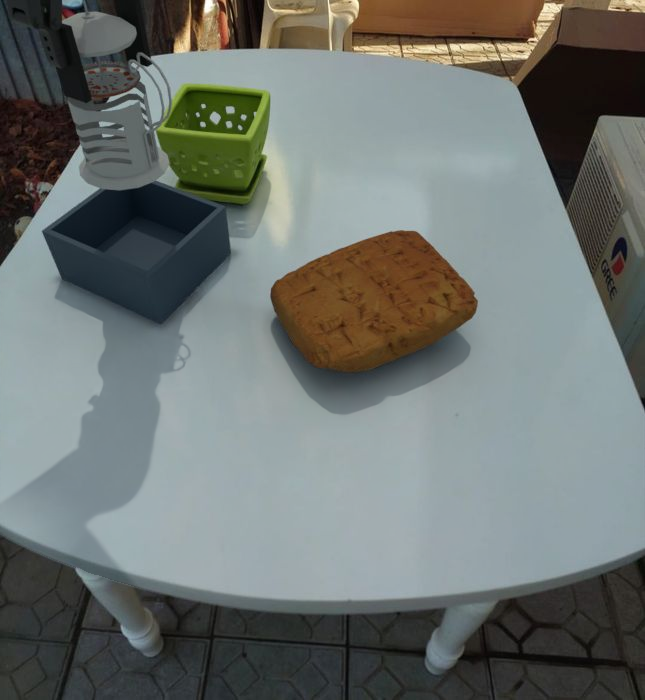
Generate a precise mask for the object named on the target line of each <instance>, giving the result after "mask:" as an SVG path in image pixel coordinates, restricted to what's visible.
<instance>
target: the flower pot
mask: <svg viewBox="0 0 645 700" xmlns="http://www.w3.org/2000/svg"><path fill="white" fill-rule="evenodd" d="M171 99H172V106H171V111H170V114H169V117H168V118H167V119H166V120H165V121H164V122H163V123H162V125H161V126H160V127H159V128H158V129H157V130H156V131H155V134H156V137H157V141H158V143H159V146H160V147H159V148H160V149H161V150H163V151H164V152H165V153H166V154H167V155H168V159H169V163H170V164H169V166H168V167H170V169H171V171H172V172H173V173H174V174H175V176H176V177H177V178H178V179H177V181H176V184H175V186H174V187H175V188H177V189H180V190H183V191H185V192H188V193H191V194H193V195H196V196H199V197H201V198H204V199H207V200H209V201H212V202H223V203H232V204H237V205H238V206H244V205H246V204H248V203H249V202H250V201H251V200H252V198H253V195H254V193H255V191H256V188H257V186H258V183H259V182H260V179H261V176H262V173H263V172H264V168H265V165H266V162H267V159H268V155H267V154H262V153H263V151H264V147H265V144H266V140H267V136H268V130H269V125H270V124H269V123H270V116H271V115H270V114H271V93H270V91H268V90H265V89H259V88H252V87H251V88H250V87H243V86H232V85H221V84H211V83H186V82H185V83H183V84H182V85H181V86H180V87H179V88H178V90H177V91H176V93H175V94H174V95H173V98H171ZM202 105H205V107H202ZM227 107H228V108H229V107H232V108H233V109H234V110H233V111H234V112H227ZM168 109H169V104H168V105H167V107H166V109H165V110H164V117H165V116H166V115H167V112H168ZM214 112H215V113H216V114H217V115H219V117H220V118H219V120H218V122H217V123H215V122H214V121H213V120H212V119H211V115H213V113H214ZM197 113H198V115H199V116H198V115H197ZM242 115H243V116H246V117H245V119H243V118H242ZM227 122H230V123H231V126H230V127H228V125H227ZM201 123H204V124H205V126H202V125H201ZM239 126H240V127H241V129H240V128H239Z"/></svg>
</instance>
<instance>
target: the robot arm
mask: <svg viewBox="0 0 645 700" xmlns="http://www.w3.org/2000/svg"><path fill="white" fill-rule="evenodd" d="M6 5H7V10H8V16H9V18H10V20H11V22H13V23H14V24H17V25H21V26H24V27H26V28H27V27H28V28H31V29H34V30H36V31H37V33H38V36H39V39H40V42H41V45H42V46H41V47H42V49H43V52H44V55H45V59H46V61H47V62H48V63H49V65H50V66H52V67H55V70H56V73H57V77H58V79H59V83H60V86H61V89H62V92H63V95H64V97H66V98H67V97H70V98H73V99H75V100H78V101H81V102H84V103H88V102H89V101H91V100H92V98H91V95H90V91H89V87H88V84H87V80H86V77H85V73H84V69H83V66H84V65H83V63H82V59H81V57H80V55H79V52H78V48H77V44H76V41H75V37H74V34H73V30H72V26H70V25H66V24H63V23H62V21H63V0H6ZM113 5H114V9H115V14H116V17H120V18H122V19H124V20H125V21H127V22H128V23H130V24H131V25H133V26H134V27H135V28H136V32H137V34H136V38H135V40H134V41H133V43H132V44H131V45H130V46H129V47H127V48H125V49H123V50H124V51H123V52H124V55H125V59H126V61H127V62H129V60H135V61H137V57H136V55H137V54H138V52H139V53H143V54H145V55H146V56H148V57H149V58H151V59H152V56H151V49H150V44H149V40H148V34H147V29H146V25H147V22H148V17H147V13H146V7H145V0H113ZM140 64H141V65H142V66H144V67H145V68H148V67H150V66H152V65H153V64H152V63H151V62H150V61H149V60H147V59H146V58H144V57H143V56H140Z"/></svg>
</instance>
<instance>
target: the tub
mask: <svg viewBox="0 0 645 700" xmlns="http://www.w3.org/2000/svg"><path fill="white" fill-rule="evenodd" d="M227 215H228V214H227V207H226V206H225V205H224V204H220V203H217V202H216V201H212V200H207V199H204V198H201V197H199V196H196V195H193V194H191V193H188V192H185V191H183V190H180V189H177V188H175V186H172V185H169V184H167V183H164V182H161V181H158V180H156V181H154V182H152V183H149V184H147V185H144V186H141V187H139V188H133V189H126V190H109V189H101V188H97V190H96V191H94V192H93V193H91V194H90V195H89V196H87V197H86V198H84V200H82V201H80V202H79V203H78V204H76V205H75V206H73V207H72V208H71V209H70V210H68V211H66V212H65V213H64V214H63V215H61V216H60V217H59V218H57V219H56V220H55V221H54V222H52V223H50V224H49V225H48V226H46V227H45V228H43V229H42V230H41V233H42V235H43V238H44V240H45V242H46V246H47V248H48V250H49V252H50V255H51V257H52V259H53V262H54V264H55V266H56V269H57V271H58V274H59V275H60V278H61V279H62V280H64V281H66V282H68V283H70V284H72V285H74V286H77V287H79V288H81V289H84V290H85V291H88V292H90V293H91V294H92V293H93V294H94V295H97V296H98V297H101V298H102V299H106V300H107V301H110V302H112V303H114V304H116V305H119V306H121V307H122V308H125V309H127V310H129V311H131V312H133V313H136V314H138V315H140V316H142V317H145V318H147V319H148V320H150V321H153V322H155V323H157V324H160V325H162V324H163V323H164V322H165V321H166V320H167V319H168V318H169V317H170V316H171V315H172V314H173V313H174V312H175V311H176V310H177V309H178V308H179V307H180V306H181V305H182V304H183V303H184V302H185V301H186V300H187V299H188V298H189V296H191V295H192V294H193V293H194V291H196V289H197V288H199V287H200V286H201V285H202V284H203V282H205V280H207V279H208V278H209V277H210V276H211V275H212V273H213V272H214V271H215V270H217V268H218V267H220V266H221V264H222V263H224V261H226V260H227V258H228V257H229V256H230V255H231V254H232V251H231V242H230V241H231V240H230V233H229V232H230V231H229V224H228V216H227Z"/></svg>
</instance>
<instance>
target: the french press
mask: <svg viewBox="0 0 645 700" xmlns="http://www.w3.org/2000/svg"><path fill="white" fill-rule="evenodd" d="M82 3H83V7H84V11H85V12H78V13H76V14H73V15H71V16H69V17H67V18H65V19H62V23H63V24H66V25H70V26H72V30H73V34H74V37H75V41H76V44H77V48H78V52H79V55H80V58H92V57H93V58H94V57H95V58H96V60H97V61H95V62H93V63H88V64H84V65H82V66H83V69H84V73H85V77H86V80H87V84H88V87H89V91H90V95H91V98H92V100H91V101H89V102H88V103H84V102H81V101H78V100H75V99H73V98H70V97H67V96H66V100H67V104H68V108H69V111H70V114H71V118H72V121H73V123H74V125H75V131H76V134H77V135H78V140H79V144H80V146H81V150H82V154H83V159H82V161H81V162H80V164H78V170H79V176H80V177H81V179H83V181H84V182H86V184H88V185H89V186H93V187H96V188H97V189H100V188H101V189H109V190H126V189H133V188H139V187H141V186H144V185H147V184H149V183H152V182H154V181H158V179H160V178H161V177H162V176H164V174H166V172H167V170H168V168H169V167H170V166H169V164H170V163H169V159H168V155H167V154H166V153H165V152H164V151H163V150H162V149H161V147H159V146H158V145H157V139H156V135H155V134H156V133H155V132H156V130H157V129H158V128H159V127H160V126H161V125H162V123H163V122H164V121H165V120H166V119H167V118H168V117H169V114H170V111H171V106H172V99H173V98H172V92H171V86H170V83H169V81H168V79H167V77H166V76H165V73H164V72H163V71H162V68H161V67H160V66H159V65H158V64H157V63H156V62H155V60H153V59H152V57H151V58H149V57H148V56H146V55H145V54H143V53H139V52H138V54H137V55H136V57H137V61H135V60H129V61H127V62H128V63H127V64H126V63H123V62H121V61H120V62H119V61H118V62H116V61H114V62H113V61H109V60H108V61H106V60H105V61H104V62H103V61H101V59H100V57H104V56H108V55H112V54H115V53H120V52H121V51H123V50H124V49H125V48H127V47H129V46H130V45H131V44H132V43H133V41H134V40H135V38H136V34H137V32H136V28H135V27H134V26H133V25H131V24H130V23H128V22H127V21H125V20H124V19H122V18H120V17H117V15H112V14H108V13H104V12H100V11H89V10H88V7H87V3H86V0H82ZM140 56H143V57H144V58H146V59H147V60H149V61H150V62H151V63H152V65H153V66H154V67H155V69H156V70H157V71H158V72H159V74H160V76H161V78H162V79H163V82H164V83H165V85H166V89H167V94H168V95H167V96H168V105H169V109H168V112H167V115H166V116H165V117H164V112H165V110H166V109H165V102H164V98H163V93H162V90H161V88H160V86H159V84H158V83H157V81H156V80H155V78H154V77H153V75H152V74H151V73H150V72H149V71H148V70H147V67H146V66H143V65H141V64H140ZM132 64H135V65H136V67H134V66H133V65H132ZM139 69H142V70H143V71H144V72H145V73H146V74H147V75H148V77H149V78H150V79H151V81H152V83H153V84H154V86H155V88H156V89H157V91H158V95H159V101H160V104H161V115H160V119H159V120H158V121H156V122H153V120H152V113H151V109H150V104H149V99H148V94H147V89H146V85H145V84H144V83H142V81H141V78H142V77H141V74H140V70H139ZM133 89H137V90H138V91H139V92H140V93H141V94H143V97H142V96H141V95H139V94H138V93H128V92H130V91H132V90H133ZM126 93H127V94H126ZM123 94H125V95H123ZM120 95H122V96H120ZM117 96H120V97H118V98H115V99H114V100H111V101H108V102H104V103H94V99H103V98H104V99H105V98H110V97H111V98H112V97H117ZM128 101H137V102H135V103H133V104H130V105H128V106H125V107H122V108H119V109H112V110H109V109H111V108H115V107H117V106H120V105H121V104H124V103H126V102H128ZM141 104H142V105H144V108H143V106H141ZM144 116H145V117H147V118H146V119H145V118H144ZM101 122H102V123H110V125H103V126H100V125H101V124H100V123H101ZM146 127H147V128H148V129H147V128H146ZM122 128H123V130H122ZM103 135H109V136H103Z"/></svg>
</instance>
